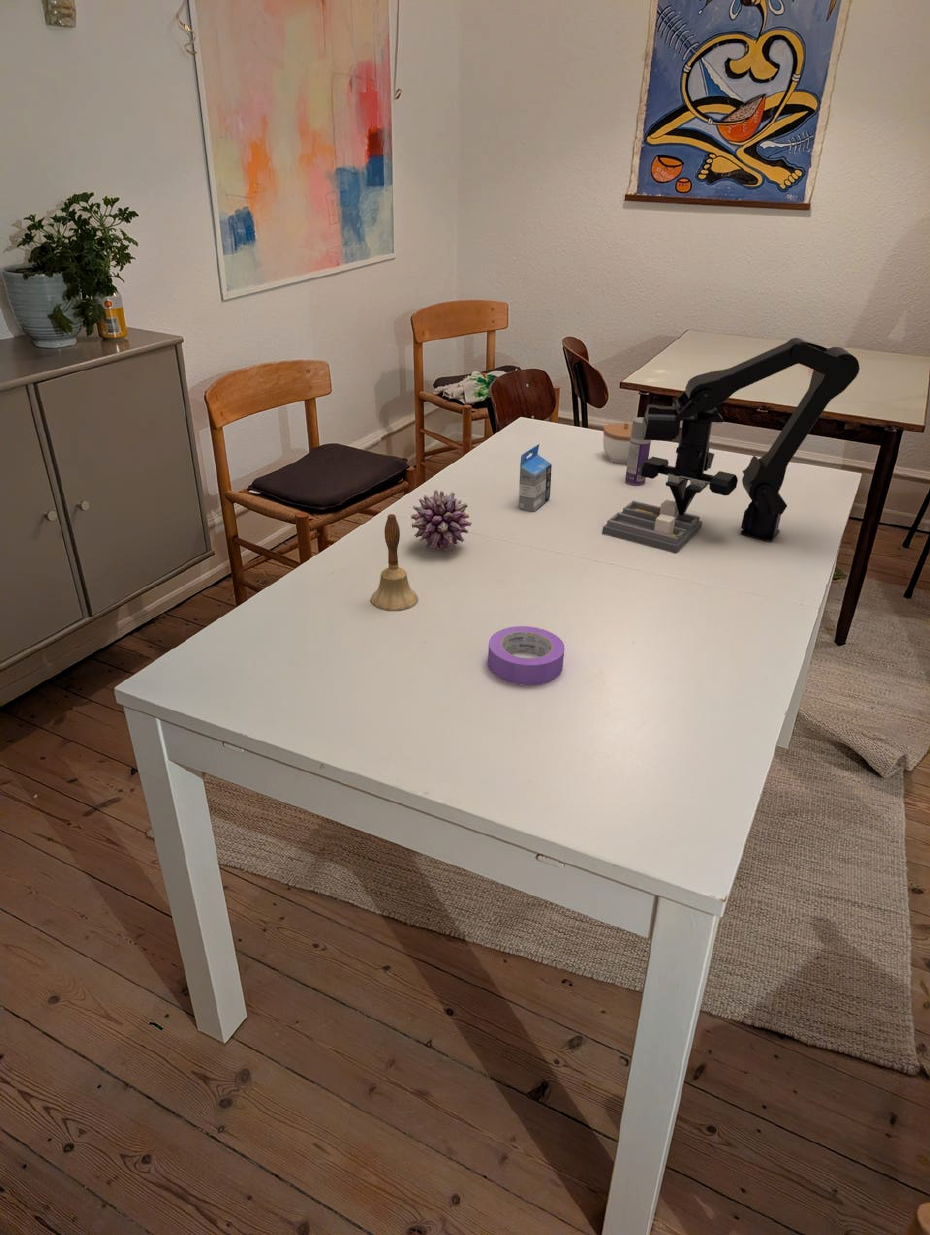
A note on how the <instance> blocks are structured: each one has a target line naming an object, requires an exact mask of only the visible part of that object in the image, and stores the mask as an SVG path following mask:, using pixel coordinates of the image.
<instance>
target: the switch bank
mask: <svg viewBox="0 0 930 1235" xmlns="http://www.w3.org/2000/svg"><path fill="white" fill-rule="evenodd" d="M660 508H661V506H658V505H653V504H649V503H645V502H640V501H636V500H632V501H631V502H629V503H628V504H627V505H625V507H623V508H622V511H621V512H617V513H616V514H614V515H613V516H612V517H610V518H609V519H608V520H607V521H606V524H604V525H603V526H602V532H601V533H602V534H603V535H607V536H610V537H614V538H618V539H621V540H625V541H630V542H631V543H632V542H633V543H637V544H640V545H644V546H647V547H650V548H651V547H652V548H655V549H659V550H663V551H667V552H670V553H674V554H677V553H678V552H679V551H680V550H681V549H682V548H683V547H684V546H685V545H686V544H687V543H688V542H689V541H690V540H692V538H693V537H694V536H695V535H697V533H699V531H700V530H701V529H702V527H703V520H700V519H701V517H700V516H699V515H698V516H697V515H694V514H690V513H687V512H685V514H684V515H683V516H682V515H679V513H678V518H677V519H676V520H675V524H674V531H673V534H672V535H667V534H664V533H660V532H656V531H654V528H655V522H656V518H657V517H659V515H660Z"/></svg>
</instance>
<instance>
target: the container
mask: <svg viewBox="0 0 930 1235" xmlns="http://www.w3.org/2000/svg"><path fill="white" fill-rule="evenodd" d="M644 417H645V416H644ZM644 417H640V416H639V417H634V418H633V420H632V424H633V425H632V432H631V438H630V446H629V454H628V461H627V464H626V470H625V471H626V472H625V479H624V482H625V484H627V485H629V486H635V487H640V486H644V485H645V484H646V478H647V477H643V476H640V469H641V466H642V464H643V463H644V462H646V461H647V460H648V459H650V450H651V443H652V440H643V439H642V424H643V418H644Z"/></svg>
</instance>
